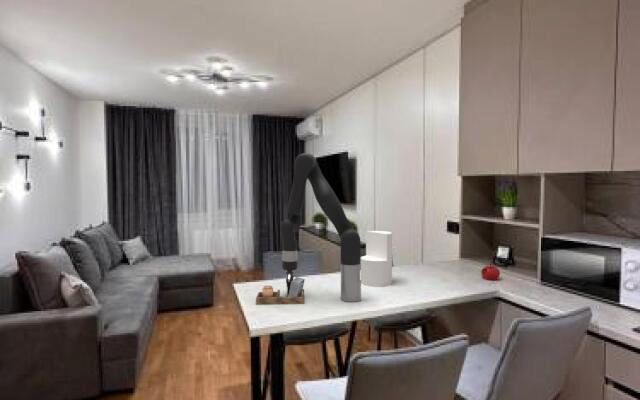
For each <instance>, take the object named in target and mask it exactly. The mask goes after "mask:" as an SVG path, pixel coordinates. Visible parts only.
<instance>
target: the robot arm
mask: <svg viewBox="0 0 640 400" xmlns="http://www.w3.org/2000/svg"><path fill="white" fill-rule="evenodd" d="M292 180H293V181H292V187H291V191H290V195H289V199H288V202H287V207H286V213H288V214H289V216H288V218H286V219H284V220H282V221H281V223H280V225H279V227H280V228H279V229H280V235H281V240H282V254H281V269H282V270H283V271H286V272H285V282H286V294H287V295H289V290H290V285H291V281H293V280H294V276H295V272H294V271H296V270H297V269H298V256H299V255H298V240H297V238H296V237H294V234H295V233H296V232H298V231H299V230H300V228H301V223H302V209H303V207H304V201H305V193H306V184H307V182H309V183H310V185H311V188H312V192H313V195H314V197H315V200H316V202H317V203H318V206H319V207H320V208H321V211H322V212H323V213H324V215H325V216H326V217H327V219H328V220H329V221H330V223H331V224H332V225H333V227H334V228H335V231H336V232H337V234H338V236H339V237H338V238H339V239H340V300H341V301H343V302H347V303H355V302H360V301H362V283H361V237H360V234H359V233H358V232H357V230H356V229H355V228H354V226H353V225H352V224H351V222H350V221H349V219H348V217H347V215H346V213H345V211H344V209H343V206H342V204H341V202H340V200H339V198H338V196H337V194H336V193H335V191H334V190H333V188H332V187H331V185H330V184H329V182H328V181H327V179H326V177H325V176H324V175H323V173H322V170H321V168H320V166H319V163H318V161H317V159H316V157H315V156H314V155H312V154H311V153H307V152H306V153H304V152H303V153H301V154H298V155H297V156H296V158H295V159H294V172H293V179H292ZM307 180H308V181H307Z"/></svg>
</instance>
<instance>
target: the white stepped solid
mask: <svg viewBox="0 0 640 400" xmlns="http://www.w3.org/2000/svg"><path fill="white" fill-rule="evenodd" d="M365 232H366V233H365V255H363V256H360V280H361V285H363V286H367V287H375V288H376V287H378V288H379V287H380V288H381V287H387V286H391V285H393V232H391V231H386V230H366V231H365Z"/></svg>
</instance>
